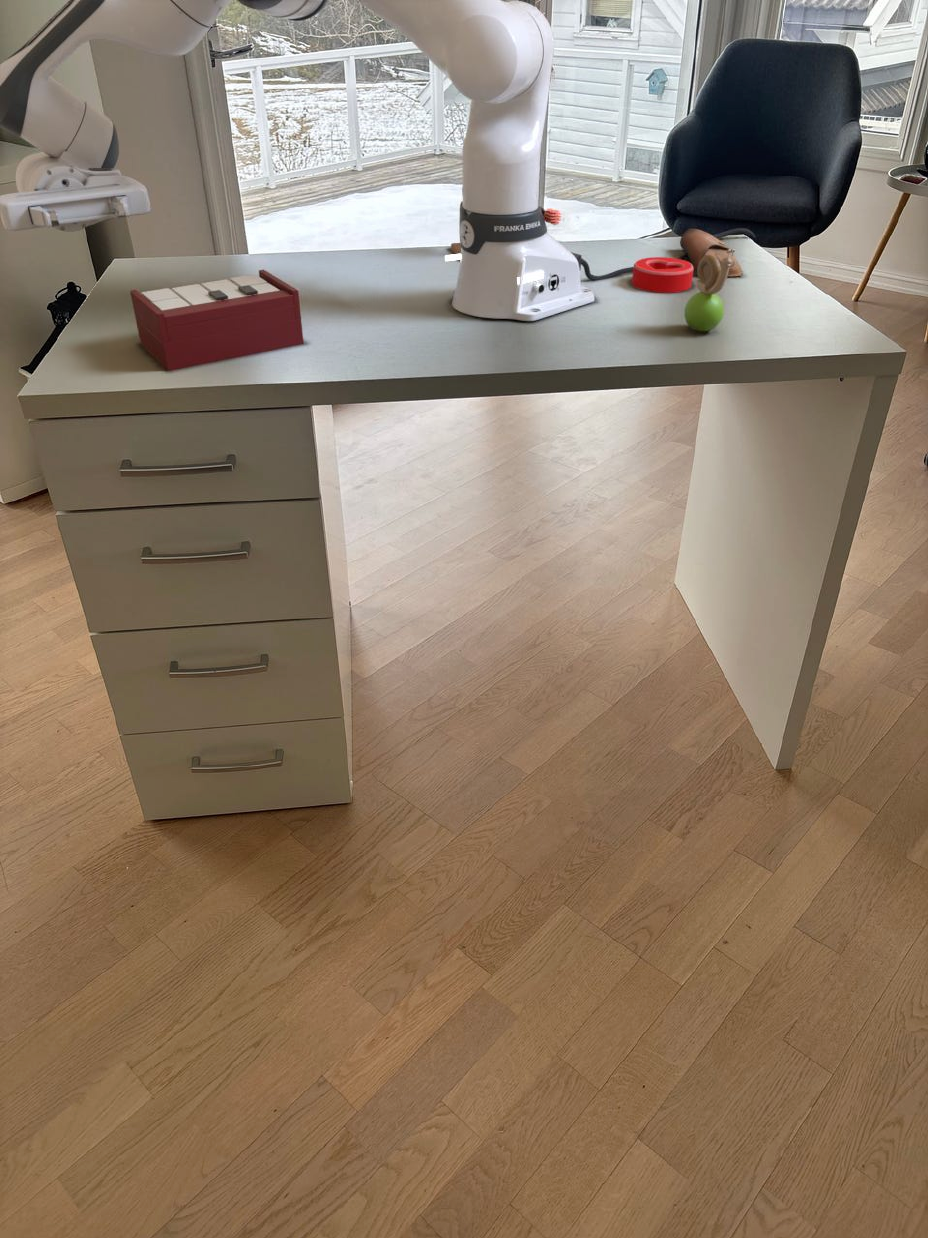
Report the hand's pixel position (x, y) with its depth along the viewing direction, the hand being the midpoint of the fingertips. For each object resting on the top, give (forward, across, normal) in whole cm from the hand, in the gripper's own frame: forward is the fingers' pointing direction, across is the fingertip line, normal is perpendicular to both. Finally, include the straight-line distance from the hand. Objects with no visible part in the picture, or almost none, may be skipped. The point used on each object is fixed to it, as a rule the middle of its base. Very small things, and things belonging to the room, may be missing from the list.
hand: (88, 215), depth 127 cm
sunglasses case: (+22, +98, +16) cm, 102 cm away
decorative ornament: (+27, +82, +16) cm, 88 cm away
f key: (+12, +4, +10) cm, 16 cm away
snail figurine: (+48, +71, +16) cm, 87 cm away
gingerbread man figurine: (-6, +65, +16) cm, 67 cm away
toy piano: (+16, +11, +15) cm, 25 cm away
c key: (+12, +17, +10) cm, 23 cm away
